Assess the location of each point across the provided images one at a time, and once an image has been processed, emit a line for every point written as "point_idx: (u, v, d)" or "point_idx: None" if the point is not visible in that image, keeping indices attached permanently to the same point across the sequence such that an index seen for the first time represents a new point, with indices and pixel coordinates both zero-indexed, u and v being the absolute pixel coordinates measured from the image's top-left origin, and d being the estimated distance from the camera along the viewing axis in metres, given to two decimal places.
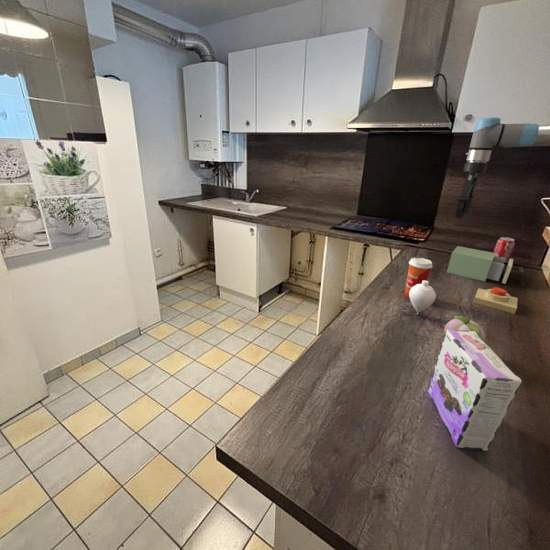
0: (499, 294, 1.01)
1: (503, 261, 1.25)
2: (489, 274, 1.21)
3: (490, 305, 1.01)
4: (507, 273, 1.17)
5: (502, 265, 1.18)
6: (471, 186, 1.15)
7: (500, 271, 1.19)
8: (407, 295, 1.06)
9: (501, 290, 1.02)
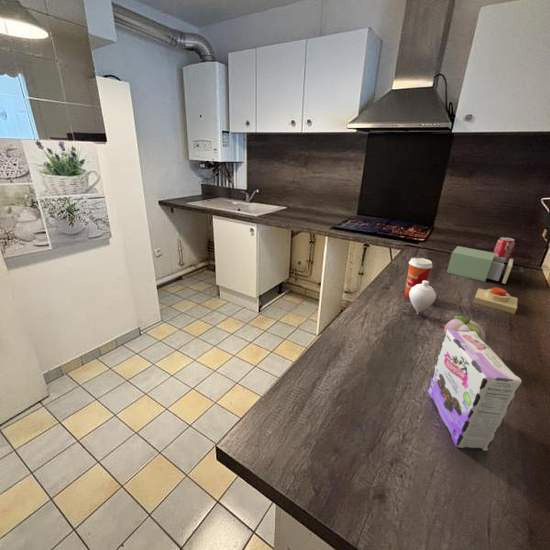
0: (499, 294, 1.01)
1: (503, 261, 1.25)
2: (489, 274, 1.21)
3: (490, 305, 1.01)
4: (507, 273, 1.17)
5: (502, 265, 1.18)
6: None
7: (500, 271, 1.19)
8: (407, 295, 1.06)
9: (501, 290, 1.02)
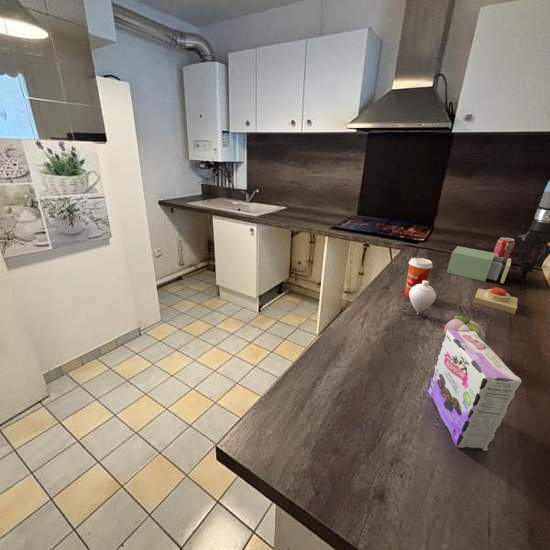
0: (499, 294, 1.01)
1: (501, 261, 1.25)
2: None
3: (490, 305, 1.01)
4: (505, 273, 1.17)
5: (500, 264, 1.18)
6: None
7: (498, 271, 1.19)
8: (407, 295, 1.06)
9: (501, 290, 1.02)
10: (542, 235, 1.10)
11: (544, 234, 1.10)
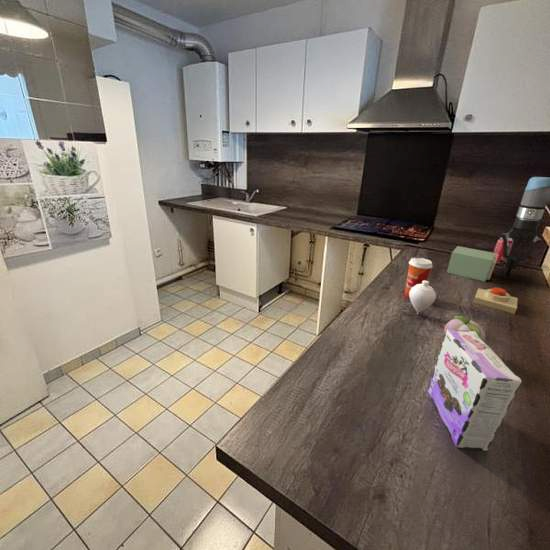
0: (499, 294, 1.01)
1: None
2: None
3: (490, 305, 1.01)
4: (491, 269, 1.20)
5: None
6: (533, 242, 1.14)
7: None
8: (407, 295, 1.06)
9: (501, 290, 1.02)
10: (524, 233, 1.13)
11: (526, 231, 1.13)
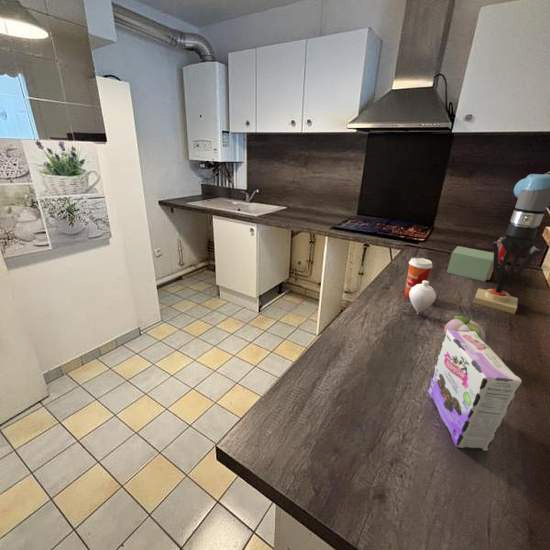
0: None
1: None
2: None
3: (490, 305, 1.01)
4: (491, 269, 1.20)
5: None
6: None
7: None
8: (407, 295, 1.06)
9: None
10: (519, 242, 0.94)
11: (522, 240, 0.94)
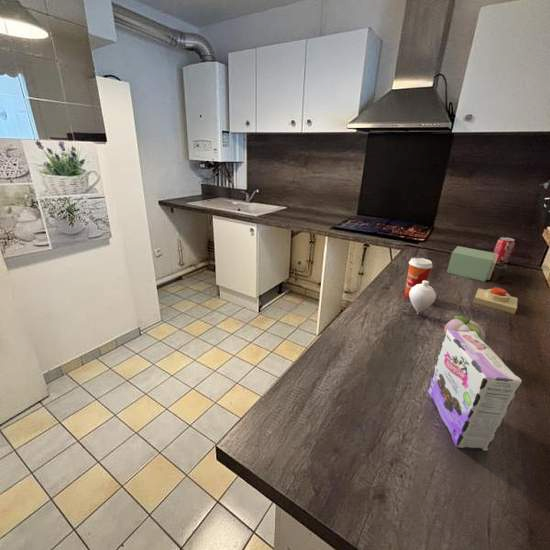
0: (499, 294, 1.01)
1: None
2: None
3: (490, 305, 1.01)
4: (491, 269, 1.20)
5: None
6: None
7: None
8: (407, 295, 1.06)
9: (501, 290, 1.02)
10: None
11: None
